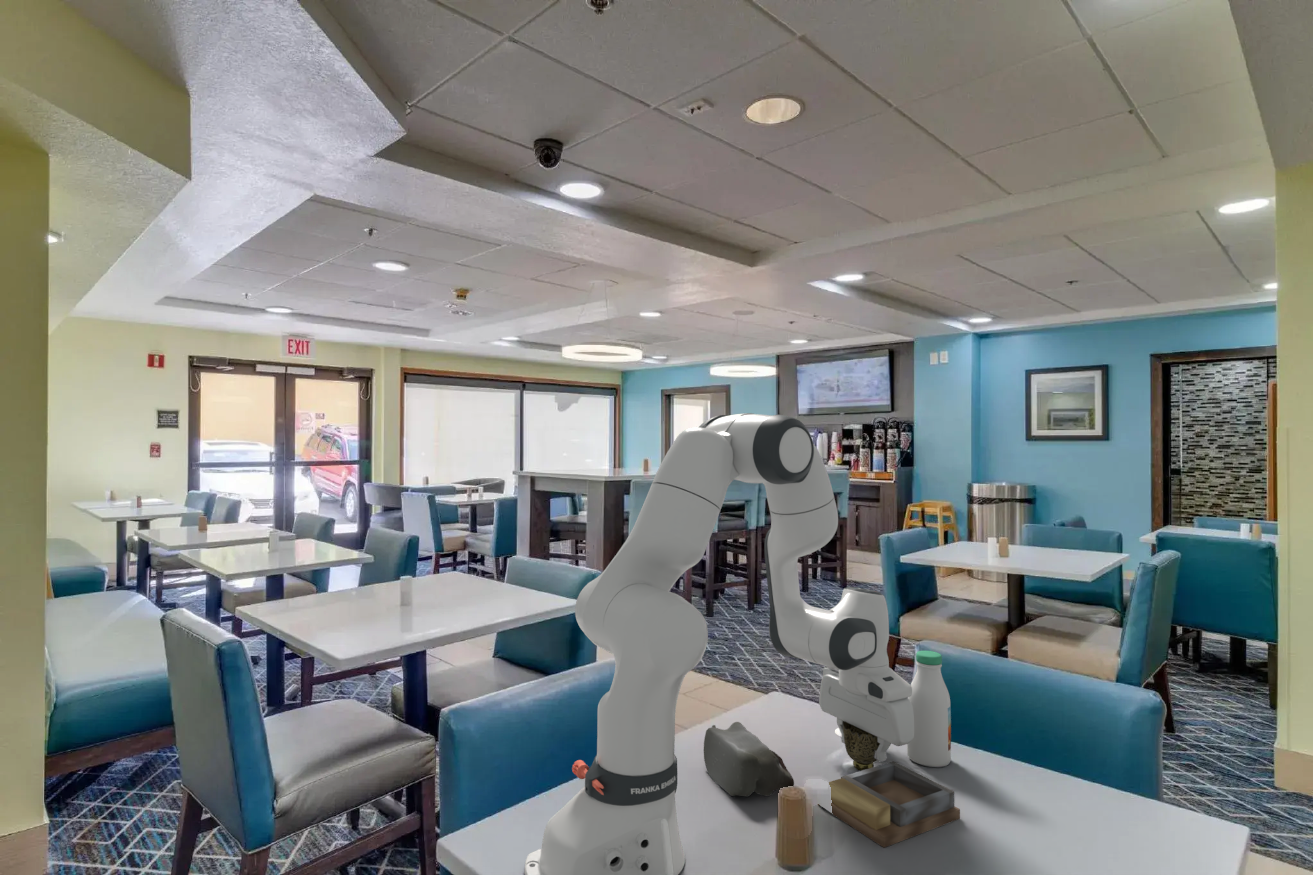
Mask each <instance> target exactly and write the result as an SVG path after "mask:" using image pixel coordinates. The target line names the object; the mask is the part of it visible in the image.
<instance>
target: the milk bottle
mask: <svg viewBox="0 0 1313 875" xmlns="http://www.w3.org/2000/svg"><path fill="white" fill-rule="evenodd" d="M942 656H943V655H942V654H941V653H939V652H937V651H933V650H932V651H931V650H918V651H917V652H916V654H915V660H916V662H915V664H916V665H917V666H916V672H915V675H914V677H913V679H912V681H911V683H910V685H911V686H912V695H911V696H910V697H907V698H908V699H909V700H910V702H911V704H912V707H913V713H914V738H913V740H912V741H911V742H910V743H908V744H906V750H907V755H908V756H907V757H908V758H909V759H910V760H911V761H912V762H914V763H916V764H918V765H921V766H925V767H930V768H943V767H946V766H948V765H949V764H950V763H951V760H952V758H951V757H952V752H951V751H952V749H951V748H952V742H951V741H952V734H951V733H952V727H951V726H952V720H951V719H952V716H951V715H952V714H951V713H952V712H951V710H952V709H951V699H950V698H951V696H950V693H949V690H948V687H947V685H946V683H945V680H944V678H943V675H942V667H943V665H942V663H943V657H942Z"/></svg>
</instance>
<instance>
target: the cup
mask: <svg viewBox="0 0 1313 875" xmlns="http://www.w3.org/2000/svg"><path fill="white" fill-rule="evenodd" d="M843 733H844V742H845V744H844V748H845V750H846V753H847V755H848V757H849V758H850V759H851V760H853V761H852V764H853V767H854V768H855V770H857V771H858V772H859V771H862V770H865V769H869V768H872V767H875V764H874V763H876V762H877V761H878V760H876V759H874V758H873V755H874V754H873V751H874V750H875V749H878V747H879V745H880V743H878V737H877V736H875V735H872V734H870V733H868V732H866V731H864V730H862V729H860V728H858V727H856V726H853V725H851V724H849V723H847V722H844V721H843Z"/></svg>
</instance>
